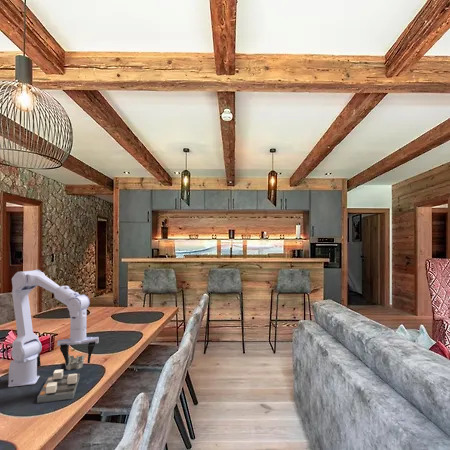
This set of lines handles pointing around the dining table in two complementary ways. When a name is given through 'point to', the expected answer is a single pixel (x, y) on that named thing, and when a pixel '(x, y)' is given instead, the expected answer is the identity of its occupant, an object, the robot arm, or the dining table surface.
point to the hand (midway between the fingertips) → (78, 363)
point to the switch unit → (58, 390)
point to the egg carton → (75, 362)
